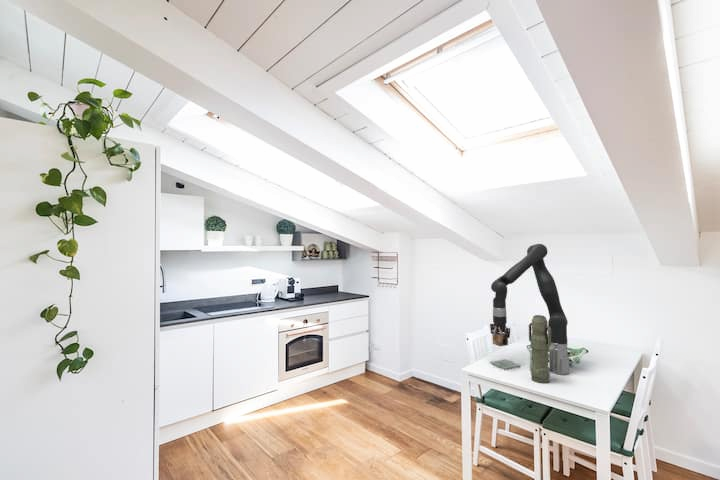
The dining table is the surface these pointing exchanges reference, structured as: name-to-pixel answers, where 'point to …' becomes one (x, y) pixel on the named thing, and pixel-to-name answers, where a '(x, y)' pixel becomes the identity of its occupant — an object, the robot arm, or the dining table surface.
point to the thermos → (540, 348)
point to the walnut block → (498, 339)
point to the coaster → (505, 364)
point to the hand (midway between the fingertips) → (500, 343)
